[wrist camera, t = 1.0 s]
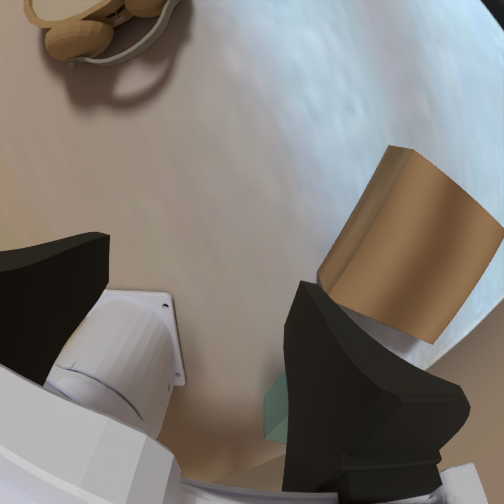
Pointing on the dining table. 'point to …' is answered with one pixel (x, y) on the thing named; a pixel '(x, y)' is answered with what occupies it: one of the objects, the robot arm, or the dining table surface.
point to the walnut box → (410, 247)
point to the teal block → (276, 411)
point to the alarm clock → (94, 26)
